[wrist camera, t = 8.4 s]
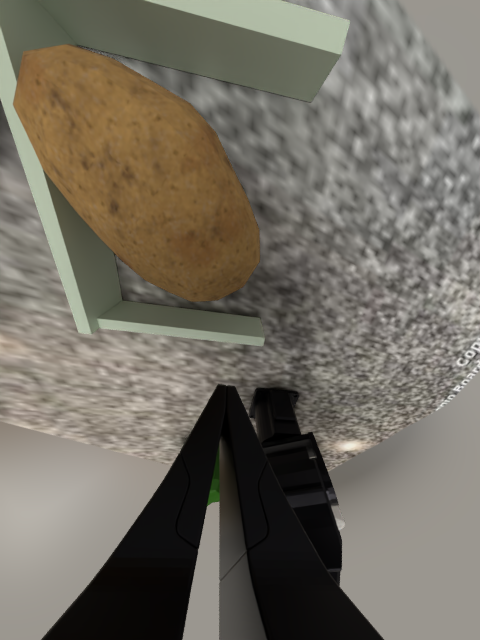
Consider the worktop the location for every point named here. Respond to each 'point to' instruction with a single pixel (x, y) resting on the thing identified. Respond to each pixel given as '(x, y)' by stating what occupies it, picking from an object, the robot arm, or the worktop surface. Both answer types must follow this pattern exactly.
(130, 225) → the potato
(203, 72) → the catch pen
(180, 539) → the robot arm
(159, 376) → the worktop surface
